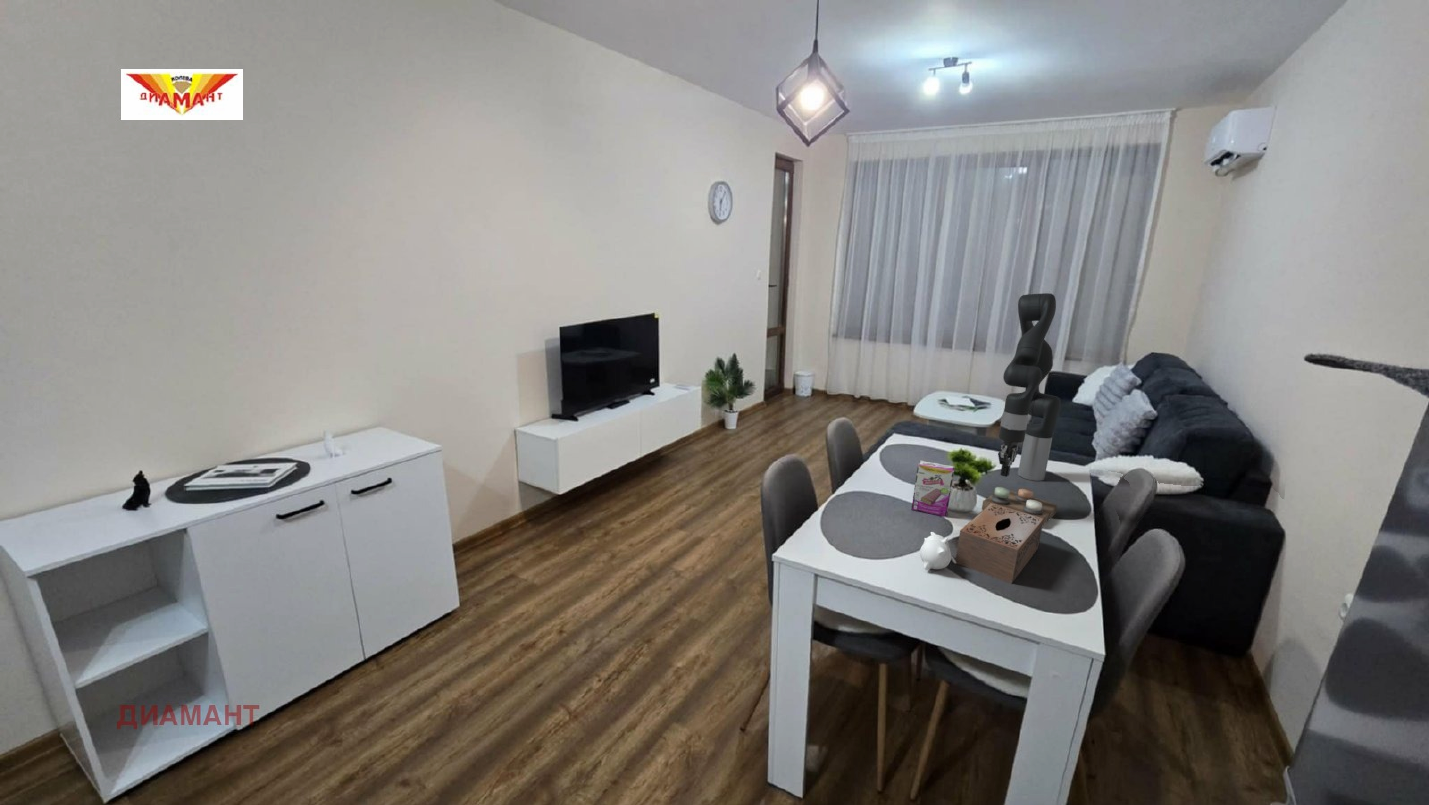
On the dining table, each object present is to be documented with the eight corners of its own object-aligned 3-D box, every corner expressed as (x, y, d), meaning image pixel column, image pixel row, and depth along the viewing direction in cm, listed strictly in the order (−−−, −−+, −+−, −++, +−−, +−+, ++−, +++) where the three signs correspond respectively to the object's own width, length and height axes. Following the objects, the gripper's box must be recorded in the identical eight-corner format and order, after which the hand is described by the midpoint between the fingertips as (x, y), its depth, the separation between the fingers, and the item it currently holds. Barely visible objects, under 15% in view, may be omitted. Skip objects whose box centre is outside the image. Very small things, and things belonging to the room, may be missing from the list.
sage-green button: (997, 491, 191) (998, 486, 190) (1010, 495, 188) (1011, 490, 187) (992, 494, 188) (993, 489, 187) (1006, 499, 185) (1007, 493, 184)
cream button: (1028, 504, 184) (1029, 498, 184) (1042, 508, 181) (1044, 503, 181) (1023, 507, 181) (1024, 502, 181) (1038, 512, 178) (1039, 506, 178)
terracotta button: (1020, 493, 193) (1021, 487, 193) (1034, 497, 190) (1035, 491, 190) (1015, 496, 190) (1016, 491, 190) (1029, 500, 187) (1030, 495, 187)
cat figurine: (935, 522, 157) (934, 539, 146) (967, 548, 155) (968, 567, 144) (914, 542, 160) (911, 561, 150) (945, 568, 158) (944, 589, 148)
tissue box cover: (1011, 584, 145) (1017, 550, 143) (954, 563, 155) (960, 530, 152) (1037, 549, 164) (1043, 518, 161) (985, 532, 173) (991, 502, 171)
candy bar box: (910, 510, 186) (917, 464, 182) (912, 505, 190) (918, 459, 186) (947, 518, 181) (954, 470, 177) (947, 512, 186) (955, 465, 182)
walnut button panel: (1000, 495, 200) (1002, 485, 199) (1056, 512, 188) (1058, 502, 187) (981, 509, 189) (983, 498, 188) (1040, 528, 176) (1042, 516, 175)
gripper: (1008, 419, 189) (1000, 468, 193) (993, 426, 180) (985, 477, 184) (1032, 425, 184) (1023, 474, 188) (1018, 432, 175) (1009, 484, 179)
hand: (1004, 475), depth 186 cm, fingers closed
